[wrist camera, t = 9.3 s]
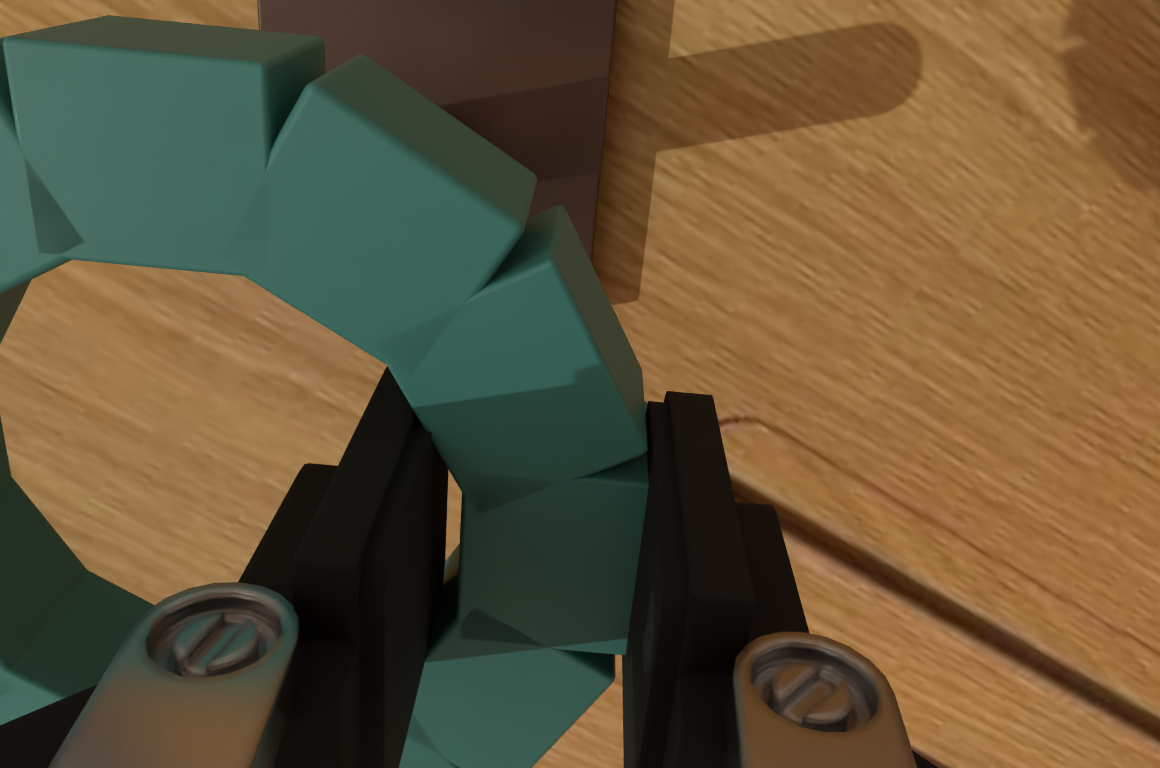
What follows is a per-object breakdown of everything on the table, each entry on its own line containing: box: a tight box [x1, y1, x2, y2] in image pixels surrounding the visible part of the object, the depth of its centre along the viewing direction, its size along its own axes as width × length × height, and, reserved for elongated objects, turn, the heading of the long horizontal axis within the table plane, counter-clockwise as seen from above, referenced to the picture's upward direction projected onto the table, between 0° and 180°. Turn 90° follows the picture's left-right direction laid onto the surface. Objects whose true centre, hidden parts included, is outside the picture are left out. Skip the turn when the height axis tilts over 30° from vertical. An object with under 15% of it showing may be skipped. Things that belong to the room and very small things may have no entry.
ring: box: [0, 15, 649, 768], centre depth 12 cm, size 10×10×2 cm
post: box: [258, 0, 617, 295], centre depth 23 cm, size 9×9×9 cm
